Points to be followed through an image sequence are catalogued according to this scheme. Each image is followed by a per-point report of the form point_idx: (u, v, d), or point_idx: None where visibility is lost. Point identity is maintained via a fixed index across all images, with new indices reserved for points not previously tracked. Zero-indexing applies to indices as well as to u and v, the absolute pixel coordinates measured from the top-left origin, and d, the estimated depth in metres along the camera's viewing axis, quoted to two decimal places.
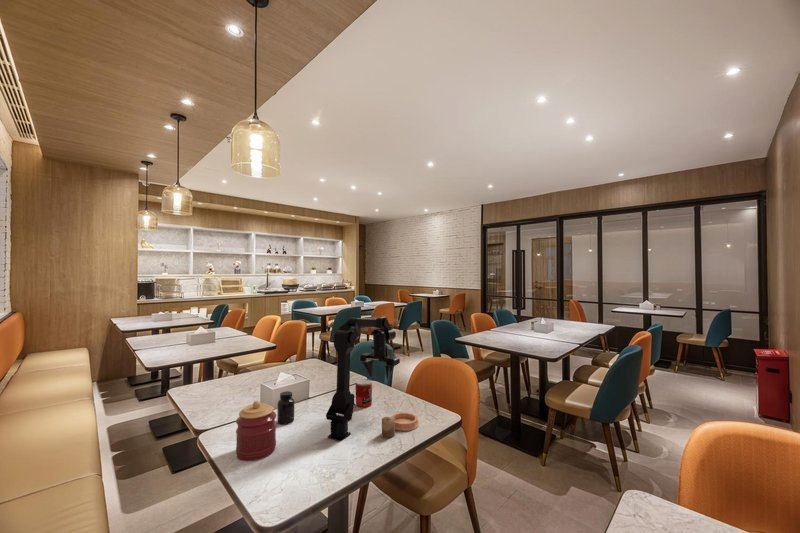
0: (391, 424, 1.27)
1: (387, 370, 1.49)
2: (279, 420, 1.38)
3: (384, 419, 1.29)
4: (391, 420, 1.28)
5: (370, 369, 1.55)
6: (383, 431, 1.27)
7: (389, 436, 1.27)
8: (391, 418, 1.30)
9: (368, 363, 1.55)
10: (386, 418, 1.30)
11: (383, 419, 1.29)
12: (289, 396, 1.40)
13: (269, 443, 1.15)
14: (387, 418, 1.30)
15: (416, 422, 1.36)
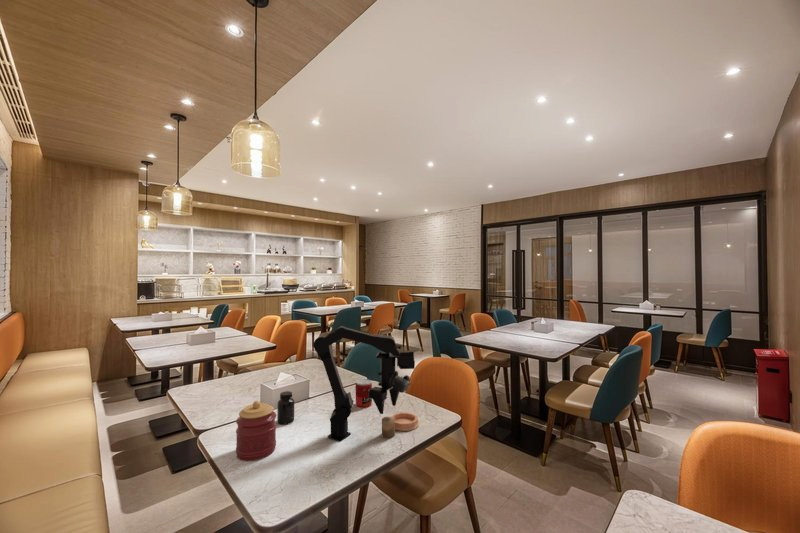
0: (391, 424, 1.27)
1: None
2: (279, 420, 1.38)
3: (384, 419, 1.29)
4: (391, 420, 1.28)
5: (393, 396, 1.34)
6: (383, 431, 1.27)
7: (389, 436, 1.27)
8: (391, 418, 1.30)
9: (391, 388, 1.35)
10: (386, 418, 1.30)
11: (383, 419, 1.29)
12: (289, 396, 1.40)
13: (269, 443, 1.15)
14: (387, 418, 1.30)
15: (416, 422, 1.36)
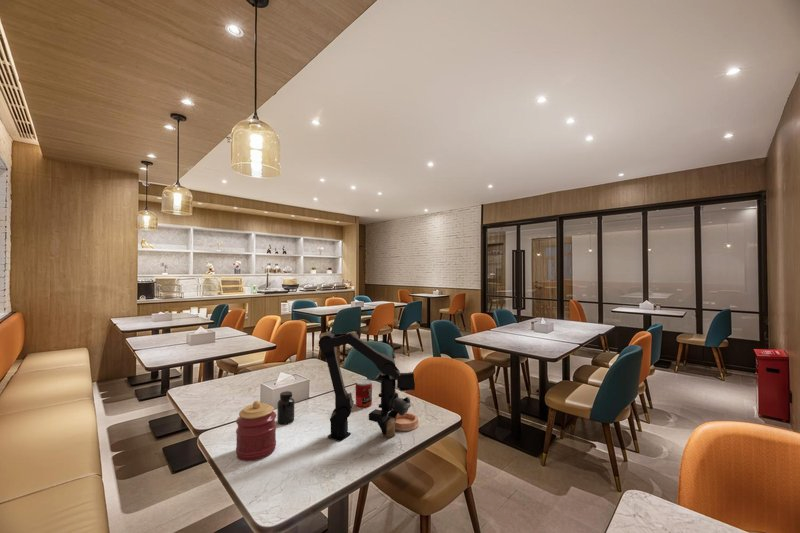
0: (391, 424, 1.27)
1: None
2: (279, 420, 1.38)
3: None
4: (391, 420, 1.28)
5: None
6: None
7: (389, 436, 1.27)
8: (391, 418, 1.30)
9: (389, 411, 1.33)
10: None
11: None
12: (289, 396, 1.40)
13: (269, 443, 1.15)
14: None
15: (416, 422, 1.36)
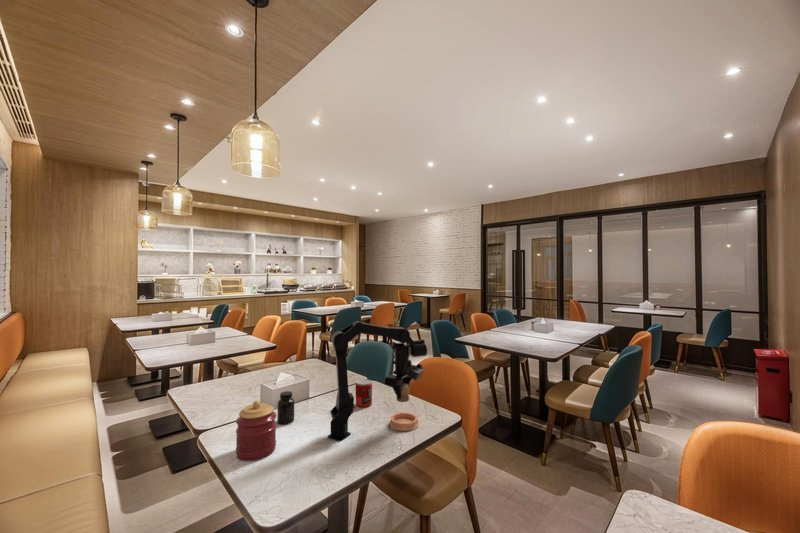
0: (405, 389, 1.35)
1: None
2: (279, 420, 1.38)
3: None
4: (405, 385, 1.36)
5: None
6: None
7: (404, 400, 1.34)
8: (405, 384, 1.37)
9: (402, 378, 1.41)
10: None
11: None
12: (289, 396, 1.40)
13: (269, 443, 1.15)
14: None
15: (416, 422, 1.36)
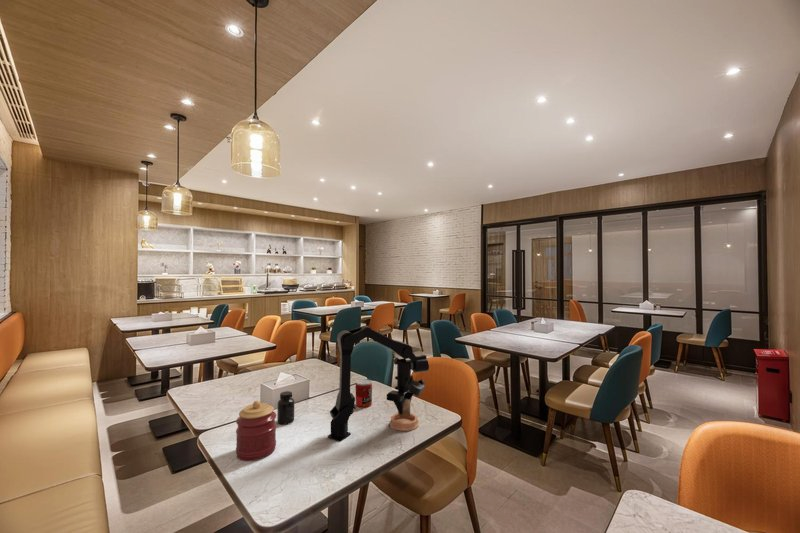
0: (407, 404, 1.36)
1: None
2: (279, 420, 1.38)
3: None
4: (407, 401, 1.37)
5: None
6: None
7: (405, 415, 1.36)
8: (407, 399, 1.39)
9: (404, 393, 1.42)
10: None
11: None
12: (289, 396, 1.40)
13: (269, 443, 1.15)
14: None
15: (416, 422, 1.36)
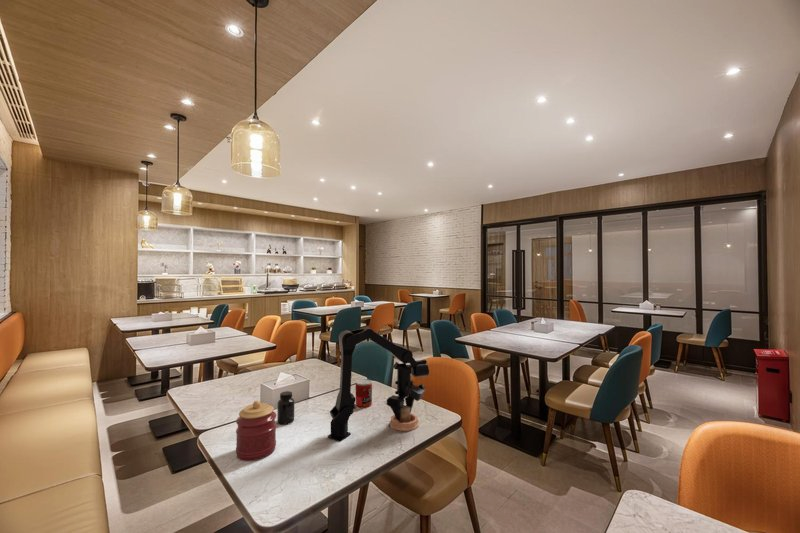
0: (407, 412, 1.36)
1: None
2: (279, 420, 1.38)
3: None
4: (407, 408, 1.37)
5: (408, 404, 1.43)
6: (400, 419, 1.36)
7: None
8: (407, 407, 1.39)
9: (406, 396, 1.44)
10: (402, 407, 1.39)
11: None
12: (289, 396, 1.40)
13: (269, 443, 1.15)
14: (403, 407, 1.39)
15: (416, 422, 1.36)
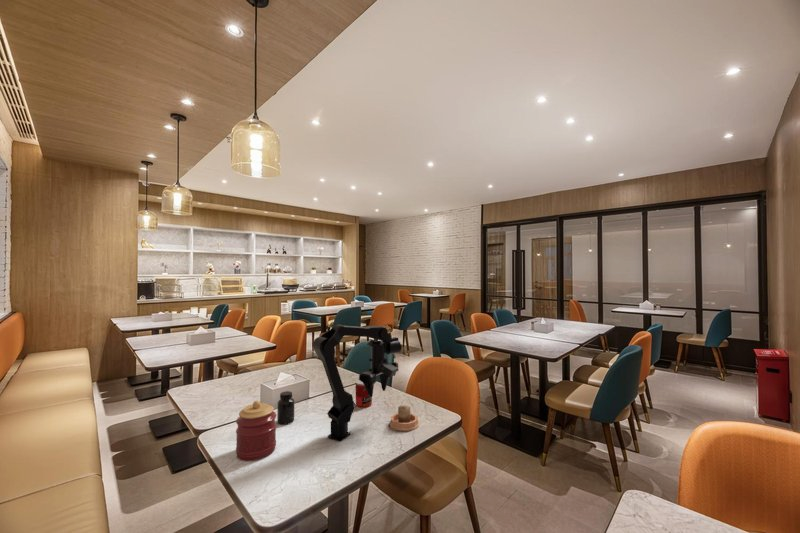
0: (407, 412, 1.36)
1: None
2: (279, 420, 1.38)
3: (400, 407, 1.38)
4: (407, 408, 1.37)
5: (383, 382, 1.44)
6: (400, 419, 1.36)
7: None
8: (407, 407, 1.39)
9: (381, 375, 1.45)
10: (402, 407, 1.39)
11: (399, 407, 1.38)
12: (289, 396, 1.40)
13: (269, 443, 1.15)
14: (403, 407, 1.39)
15: (416, 422, 1.36)
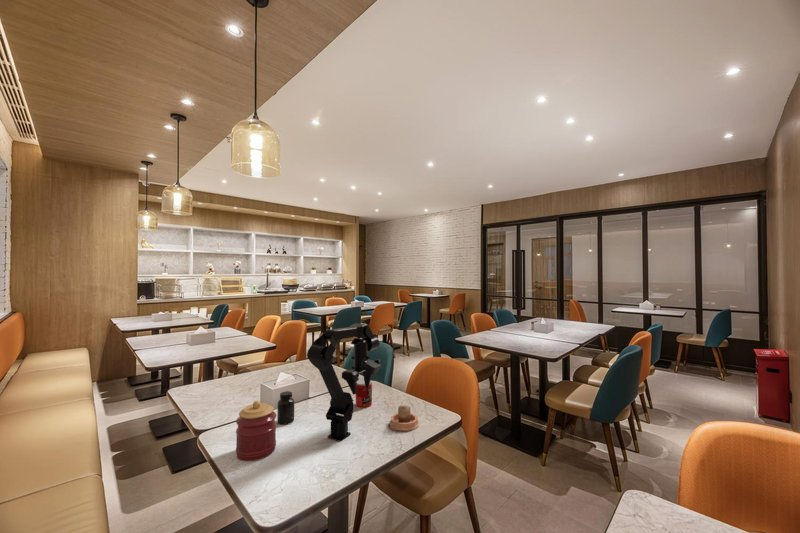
0: (407, 412, 1.36)
1: None
2: (279, 420, 1.38)
3: (400, 407, 1.38)
4: (407, 408, 1.37)
5: (366, 379, 1.45)
6: (400, 419, 1.36)
7: None
8: (407, 407, 1.39)
9: (364, 372, 1.46)
10: (402, 407, 1.39)
11: (399, 407, 1.38)
12: (289, 396, 1.40)
13: (269, 443, 1.15)
14: (403, 407, 1.39)
15: (416, 422, 1.36)
